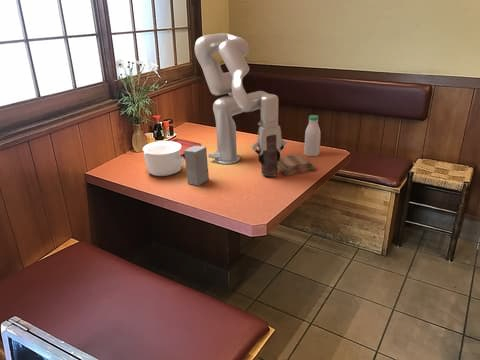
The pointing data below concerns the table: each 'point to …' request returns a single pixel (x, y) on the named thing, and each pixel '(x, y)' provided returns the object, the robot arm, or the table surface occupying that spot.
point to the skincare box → (196, 165)
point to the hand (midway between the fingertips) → (269, 161)
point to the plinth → (294, 165)
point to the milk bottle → (312, 137)
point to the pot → (163, 157)
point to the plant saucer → (185, 145)
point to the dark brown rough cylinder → (270, 157)
